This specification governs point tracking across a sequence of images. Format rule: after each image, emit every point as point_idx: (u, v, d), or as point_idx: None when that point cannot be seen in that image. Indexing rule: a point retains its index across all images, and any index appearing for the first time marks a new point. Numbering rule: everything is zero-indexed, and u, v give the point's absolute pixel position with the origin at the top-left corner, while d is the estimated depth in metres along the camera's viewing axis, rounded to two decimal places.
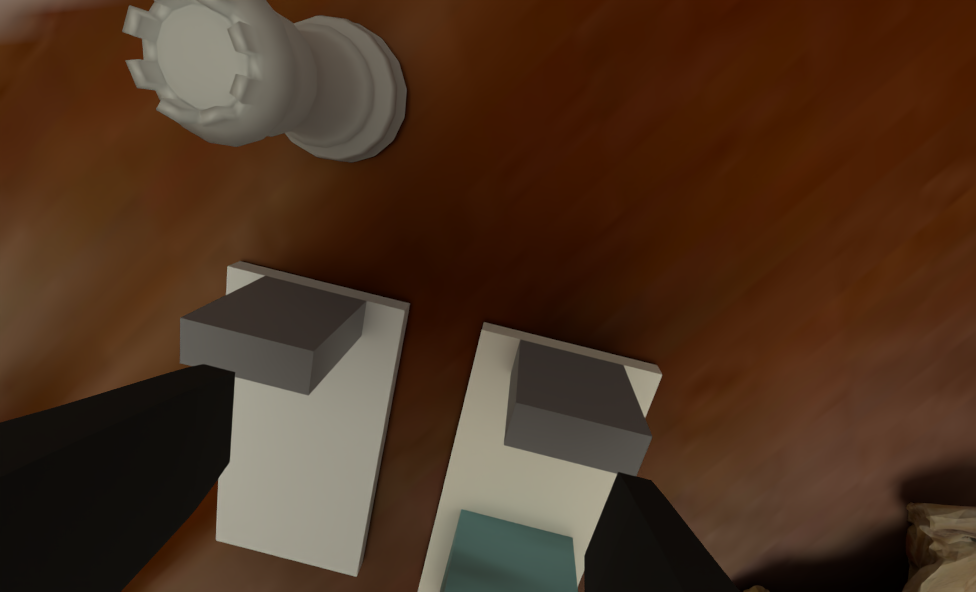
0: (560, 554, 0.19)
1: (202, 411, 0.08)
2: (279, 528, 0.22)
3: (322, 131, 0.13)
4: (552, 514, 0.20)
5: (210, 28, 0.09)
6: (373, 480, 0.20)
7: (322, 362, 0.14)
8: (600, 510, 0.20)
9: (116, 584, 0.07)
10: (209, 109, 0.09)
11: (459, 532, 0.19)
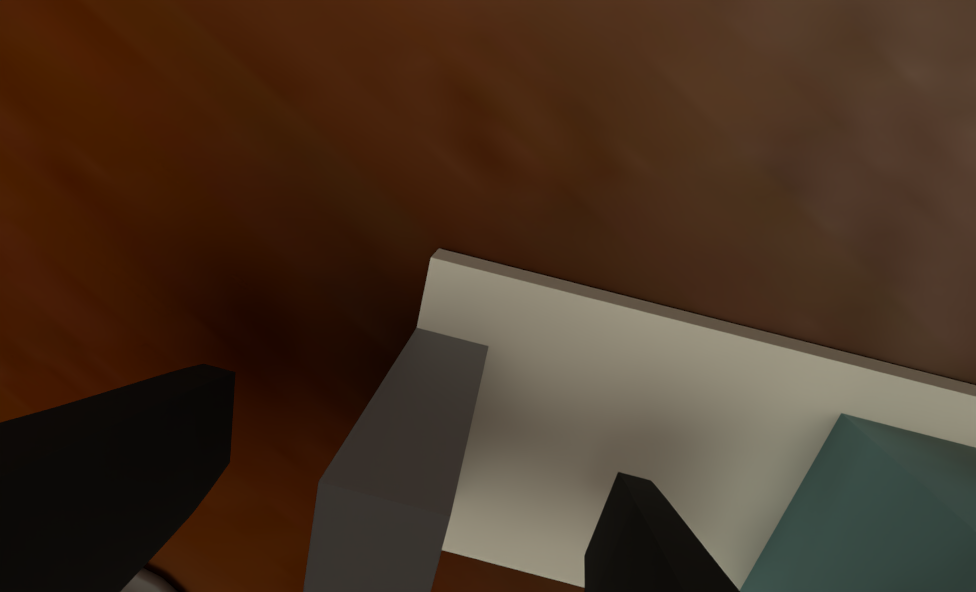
0: (861, 474, 0.08)
1: (202, 411, 0.08)
2: None
3: None
4: (768, 448, 0.09)
5: None
6: None
7: None
8: (768, 359, 0.09)
9: (116, 584, 0.07)
10: None
11: None
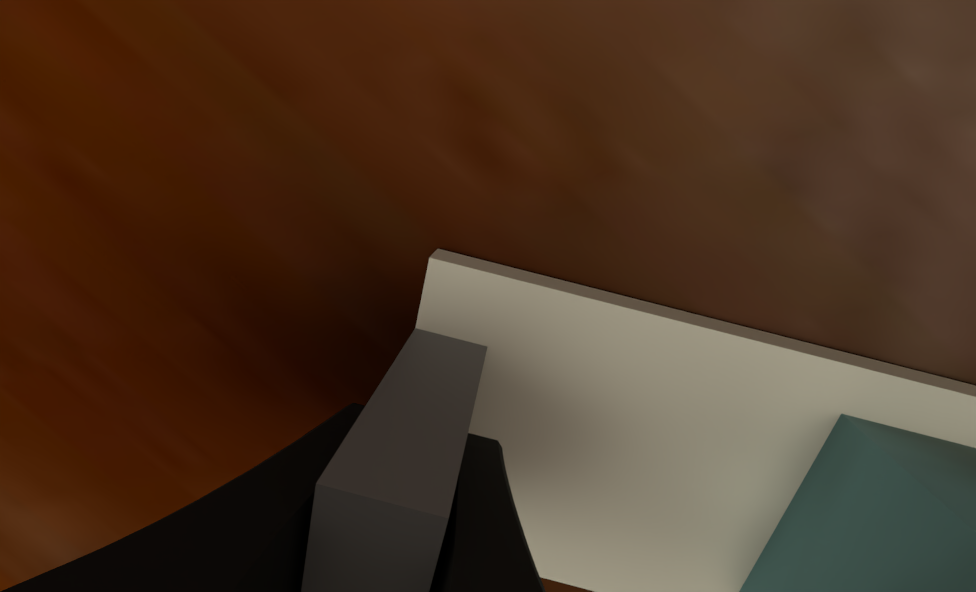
0: (862, 474, 0.08)
1: None
2: None
3: None
4: (768, 449, 0.09)
5: None
6: None
7: None
8: (768, 359, 0.09)
9: None
10: None
11: None
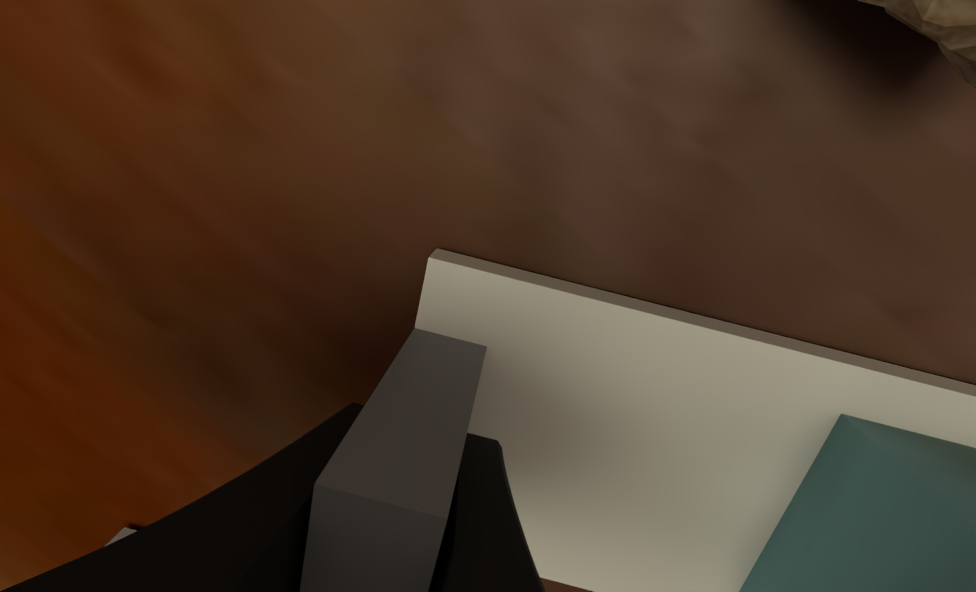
0: (861, 474, 0.08)
1: None
2: None
3: None
4: (768, 449, 0.09)
5: None
6: None
7: None
8: (767, 359, 0.09)
9: None
10: None
11: None
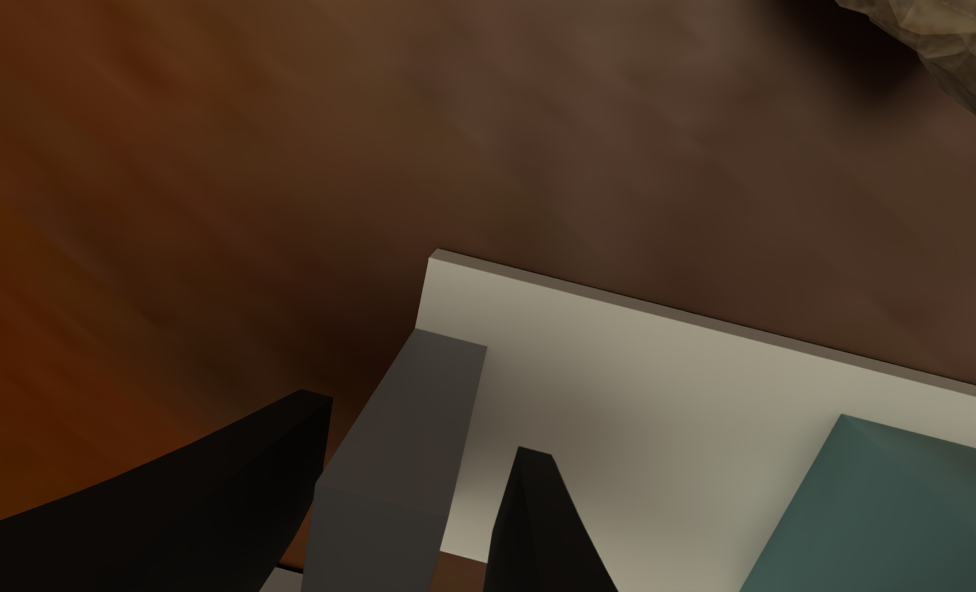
0: (862, 474, 0.08)
1: (309, 439, 0.08)
2: None
3: None
4: (768, 449, 0.09)
5: None
6: None
7: None
8: (767, 359, 0.09)
9: None
10: None
11: None
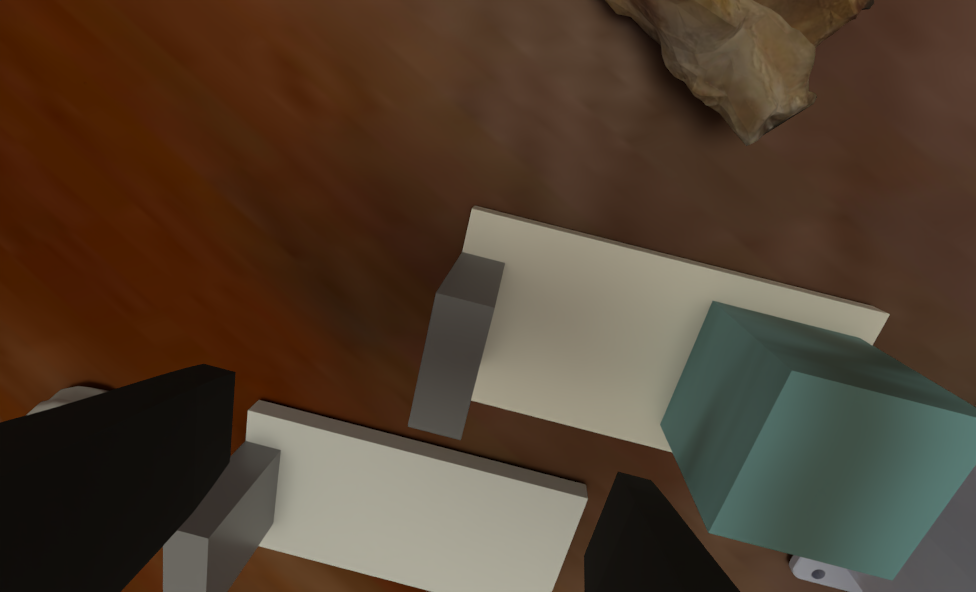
0: (717, 328, 0.15)
1: (202, 411, 0.08)
2: (520, 560, 0.20)
3: None
4: (672, 324, 0.16)
5: None
6: (446, 462, 0.19)
7: (203, 514, 0.16)
8: (668, 267, 0.15)
9: (116, 584, 0.07)
10: None
11: (670, 443, 0.16)
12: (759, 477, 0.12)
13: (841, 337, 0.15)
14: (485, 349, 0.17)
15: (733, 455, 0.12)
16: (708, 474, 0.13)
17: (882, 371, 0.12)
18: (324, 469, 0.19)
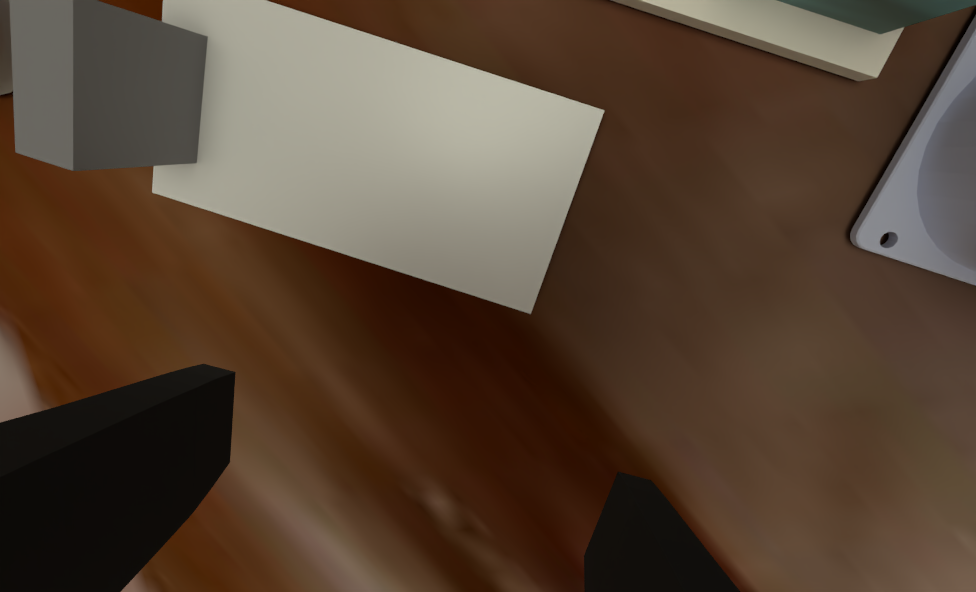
0: None
1: (202, 411, 0.08)
2: (510, 217, 0.15)
3: None
4: None
5: None
6: (423, 53, 0.14)
7: None
8: None
9: (116, 584, 0.07)
10: None
11: None
12: None
13: None
14: None
15: None
16: None
17: None
18: (263, 68, 0.15)
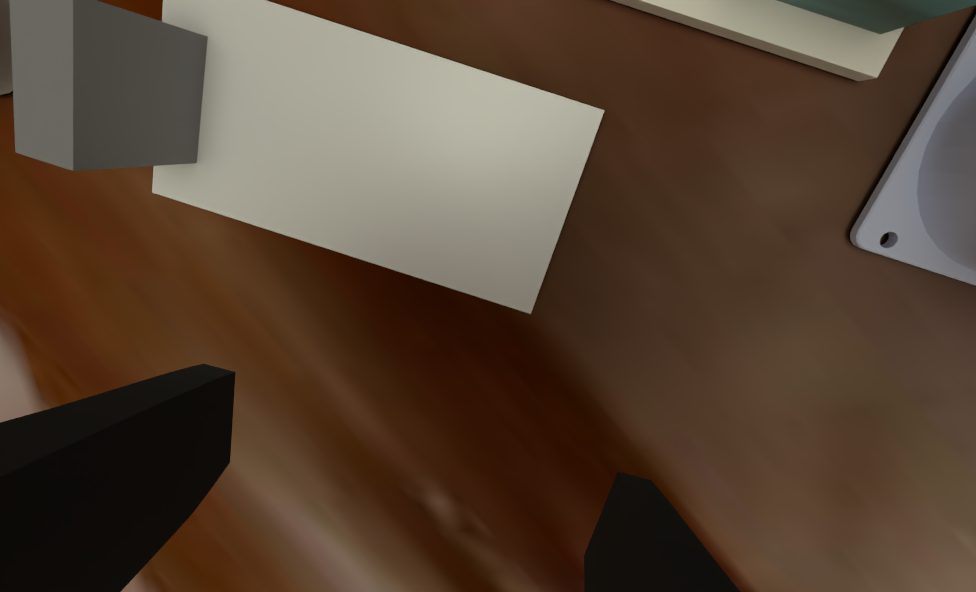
0: None
1: (202, 411, 0.08)
2: (510, 217, 0.15)
3: None
4: None
5: None
6: (423, 53, 0.14)
7: None
8: None
9: (116, 584, 0.07)
10: None
11: None
12: None
13: None
14: None
15: None
16: None
17: None
18: (263, 68, 0.15)
